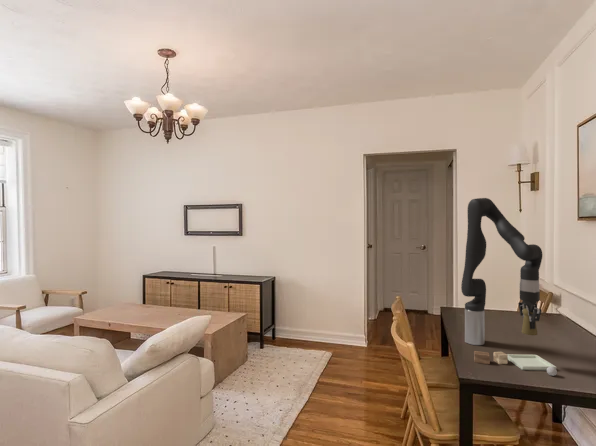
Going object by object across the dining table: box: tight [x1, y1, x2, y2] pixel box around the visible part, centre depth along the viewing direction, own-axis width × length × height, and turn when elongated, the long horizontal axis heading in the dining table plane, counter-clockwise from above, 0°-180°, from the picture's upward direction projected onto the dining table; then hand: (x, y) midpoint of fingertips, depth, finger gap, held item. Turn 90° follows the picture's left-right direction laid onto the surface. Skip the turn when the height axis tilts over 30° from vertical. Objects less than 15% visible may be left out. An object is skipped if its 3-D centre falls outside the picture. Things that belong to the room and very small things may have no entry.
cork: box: [521, 308, 538, 336], centre depth 164 cm, size 6×6×11 cm
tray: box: [507, 353, 557, 371], centre depth 164 cm, size 14×14×2 cm
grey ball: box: [546, 367, 558, 377], centre depth 152 cm, size 4×4×4 cm
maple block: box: [493, 351, 509, 365], centre depth 167 cm, size 4×4×4 cm
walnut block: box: [473, 350, 491, 365], centre depth 167 cm, size 4×6×4 cm, turn 69°
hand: (529, 328), depth 164 cm, fingers closed on cork, 3 cm apart
